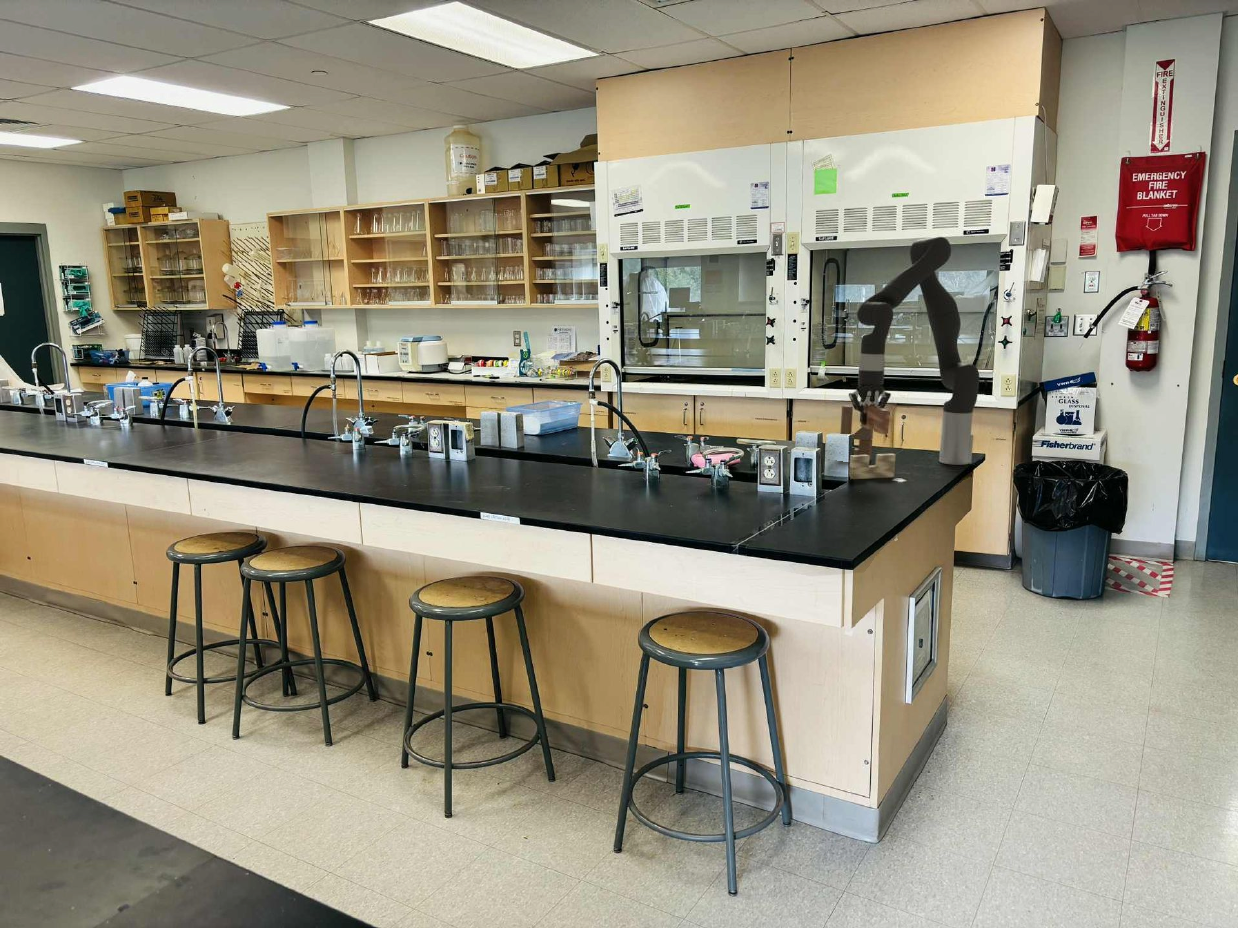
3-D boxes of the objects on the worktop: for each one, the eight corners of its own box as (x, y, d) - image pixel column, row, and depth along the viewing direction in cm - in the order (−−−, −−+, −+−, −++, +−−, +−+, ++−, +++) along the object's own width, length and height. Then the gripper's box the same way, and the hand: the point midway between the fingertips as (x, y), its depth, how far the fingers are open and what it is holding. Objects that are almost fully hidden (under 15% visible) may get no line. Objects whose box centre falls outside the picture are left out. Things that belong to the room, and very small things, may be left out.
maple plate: (890, 475, 269) (891, 453, 267) (894, 477, 267) (895, 454, 265) (848, 477, 266) (850, 455, 265) (852, 479, 264) (853, 456, 262)
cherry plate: (867, 426, 270) (868, 404, 269) (888, 433, 258) (889, 410, 256) (860, 426, 270) (862, 404, 268) (881, 433, 257) (883, 410, 256)
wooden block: (868, 461, 289) (871, 408, 286) (837, 458, 295) (839, 406, 292) (871, 460, 292) (874, 407, 289) (840, 456, 298) (843, 404, 295)
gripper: (886, 367, 269) (882, 422, 272) (845, 367, 266) (841, 423, 269) (898, 369, 262) (894, 425, 265) (856, 370, 259) (852, 427, 262)
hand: (867, 424), depth 267 cm, fingers closed on cherry plate, 2 cm apart
